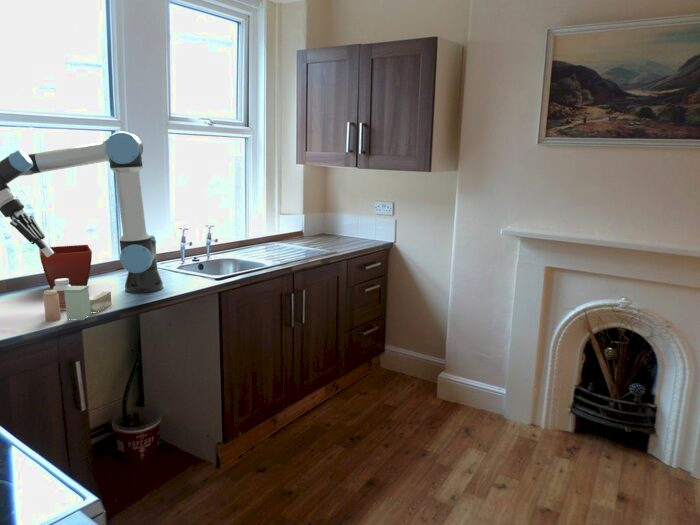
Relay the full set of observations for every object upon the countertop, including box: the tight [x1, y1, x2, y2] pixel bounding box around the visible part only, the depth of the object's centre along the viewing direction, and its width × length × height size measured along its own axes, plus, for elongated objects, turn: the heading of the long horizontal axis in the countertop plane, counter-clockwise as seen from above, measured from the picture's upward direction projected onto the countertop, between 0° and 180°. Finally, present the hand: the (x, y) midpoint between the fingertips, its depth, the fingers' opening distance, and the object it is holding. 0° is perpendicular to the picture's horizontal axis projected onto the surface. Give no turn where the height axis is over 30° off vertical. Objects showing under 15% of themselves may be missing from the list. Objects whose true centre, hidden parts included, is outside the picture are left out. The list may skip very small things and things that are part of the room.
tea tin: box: [64, 285, 92, 321], centre depth 194 cm, size 6×6×11 cm
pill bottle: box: [53, 278, 71, 311], centre depth 205 cm, size 6×6×11 cm
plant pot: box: [38, 244, 93, 290], centre depth 236 cm, size 19×19×17 cm
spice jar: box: [42, 289, 62, 322], centre depth 192 cm, size 5×5×10 cm
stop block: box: [89, 291, 112, 313], centre depth 206 cm, size 3×12×5 cm, turn 179°
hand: (50, 255), depth 209 cm, fingers closed
